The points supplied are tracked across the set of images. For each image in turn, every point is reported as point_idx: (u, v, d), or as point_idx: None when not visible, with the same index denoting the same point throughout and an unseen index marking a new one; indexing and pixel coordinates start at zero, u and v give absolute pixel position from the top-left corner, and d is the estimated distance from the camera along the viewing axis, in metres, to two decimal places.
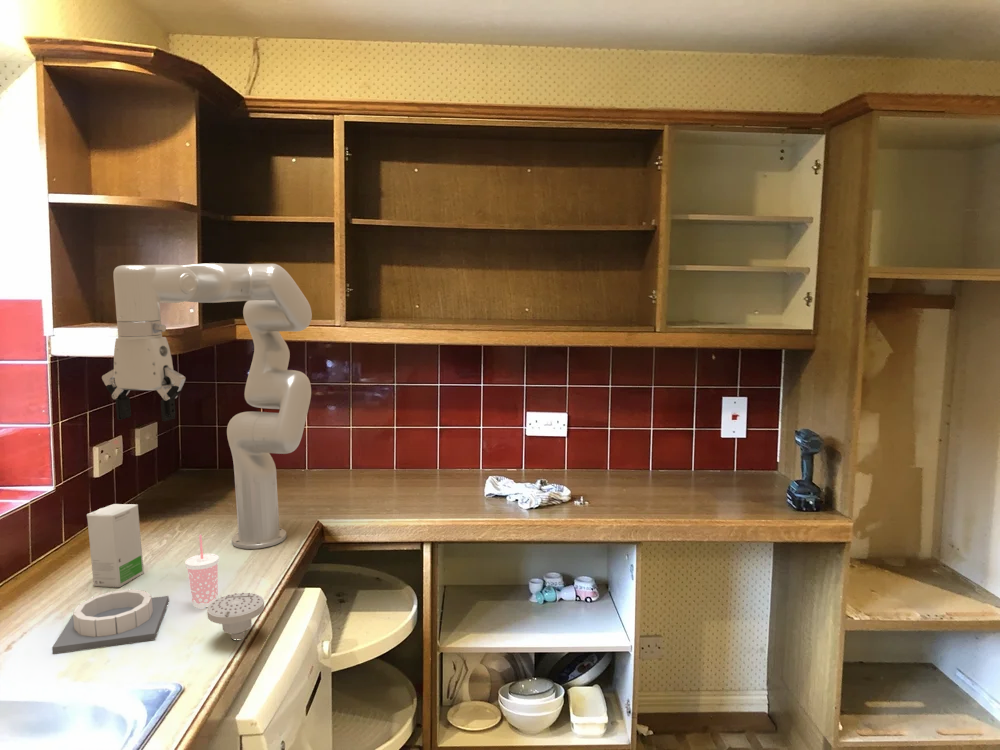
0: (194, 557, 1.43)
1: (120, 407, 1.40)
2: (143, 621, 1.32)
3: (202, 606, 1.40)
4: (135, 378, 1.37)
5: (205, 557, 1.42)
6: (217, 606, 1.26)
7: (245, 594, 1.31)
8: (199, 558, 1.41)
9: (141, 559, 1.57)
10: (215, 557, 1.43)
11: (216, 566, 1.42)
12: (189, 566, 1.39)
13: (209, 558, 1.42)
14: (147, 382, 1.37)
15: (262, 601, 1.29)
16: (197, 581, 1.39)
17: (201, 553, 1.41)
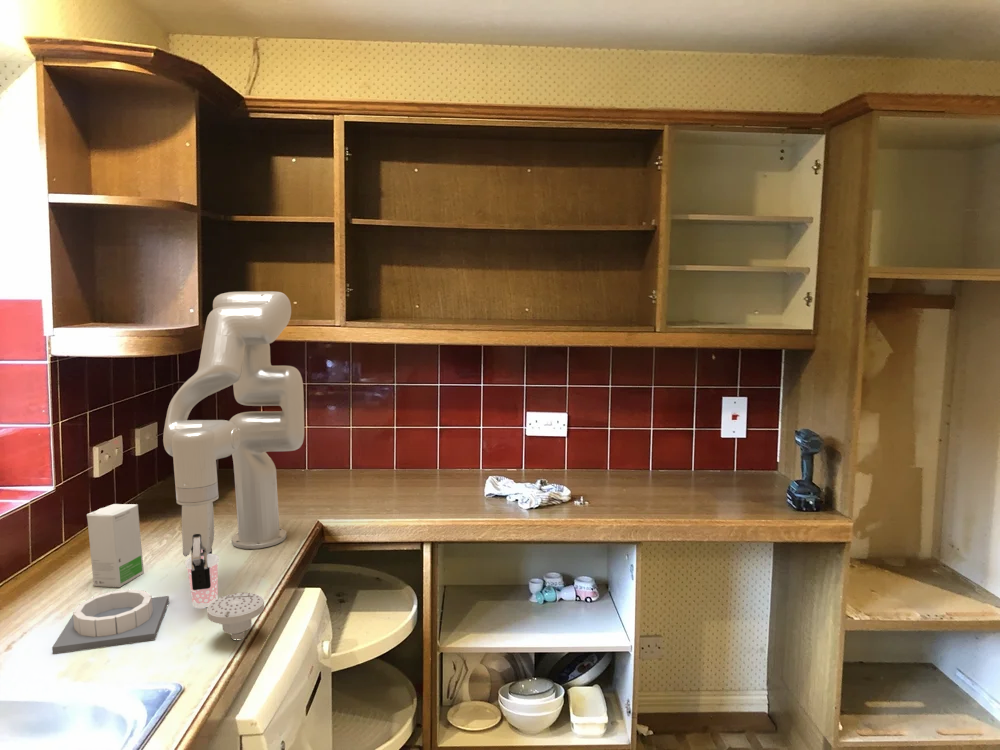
0: None
1: None
2: (143, 621, 1.32)
3: (202, 606, 1.40)
4: (213, 534, 1.41)
5: None
6: (217, 606, 1.26)
7: (245, 594, 1.31)
8: None
9: (141, 559, 1.57)
10: (215, 557, 1.43)
11: (216, 566, 1.42)
12: (189, 566, 1.39)
13: (209, 558, 1.42)
14: None
15: (262, 601, 1.29)
16: None
17: None
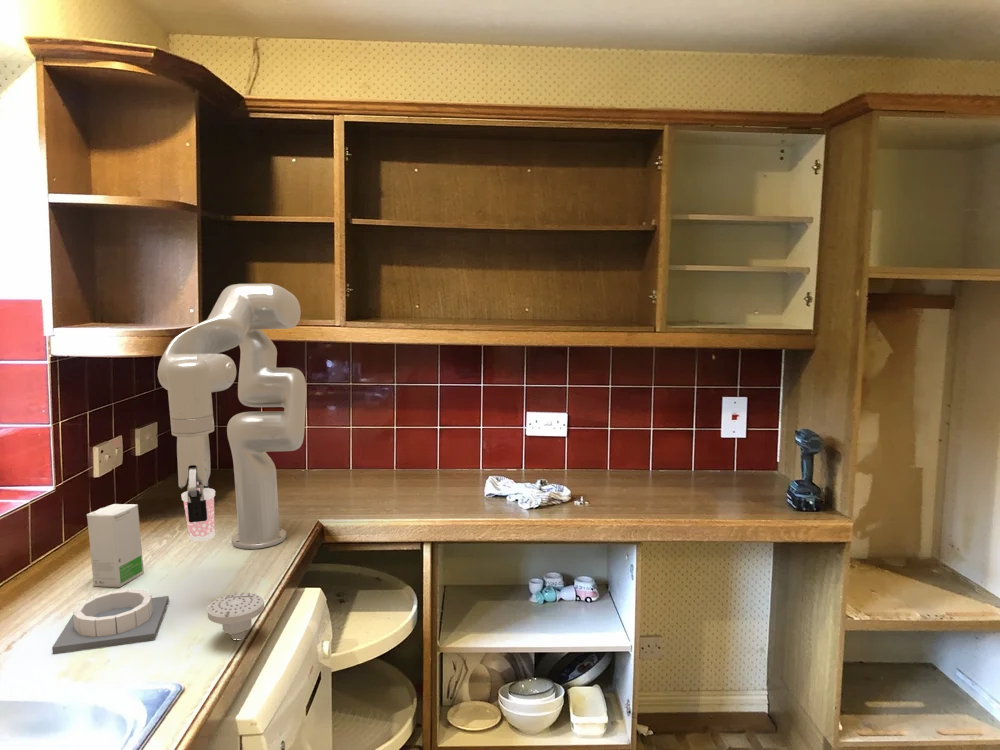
0: None
1: None
2: (143, 621, 1.32)
3: (199, 539, 1.39)
4: (209, 468, 1.40)
5: None
6: (217, 606, 1.26)
7: (245, 594, 1.31)
8: None
9: (141, 559, 1.57)
10: (211, 491, 1.41)
11: (213, 500, 1.40)
12: (185, 499, 1.38)
13: (205, 492, 1.41)
14: None
15: (262, 601, 1.29)
16: None
17: None
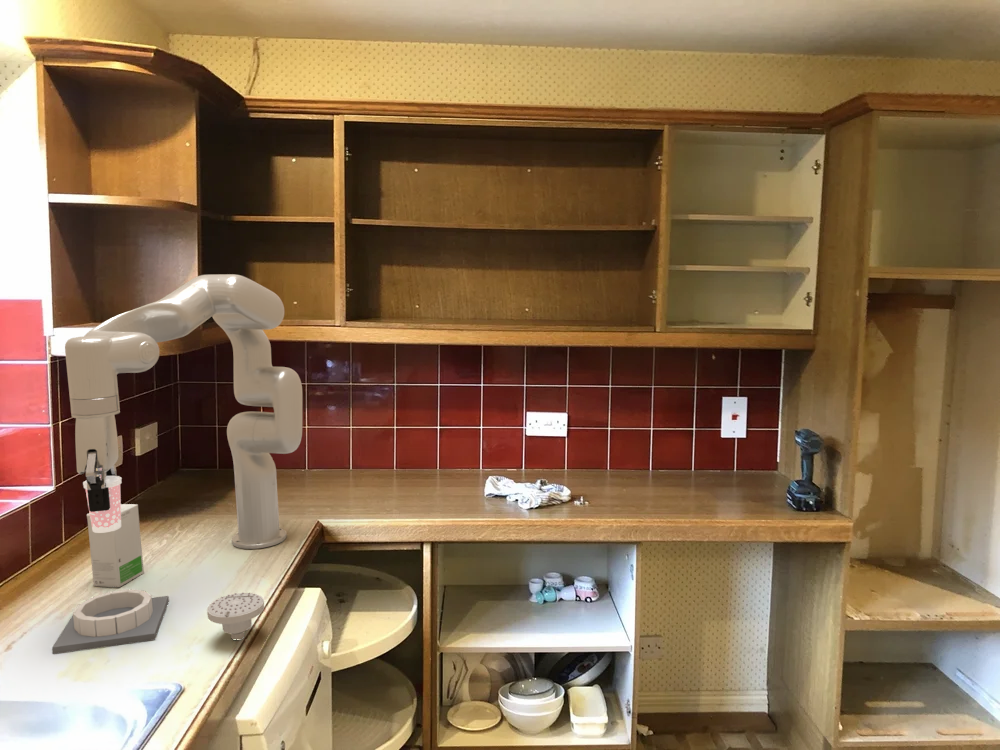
0: None
1: None
2: (143, 621, 1.32)
3: (102, 530, 1.29)
4: (114, 453, 1.30)
5: (106, 478, 1.30)
6: (217, 606, 1.26)
7: (245, 594, 1.31)
8: None
9: (141, 559, 1.57)
10: (117, 478, 1.31)
11: (118, 488, 1.30)
12: (86, 486, 1.27)
13: (111, 479, 1.31)
14: (117, 455, 1.33)
15: (262, 601, 1.29)
16: None
17: None
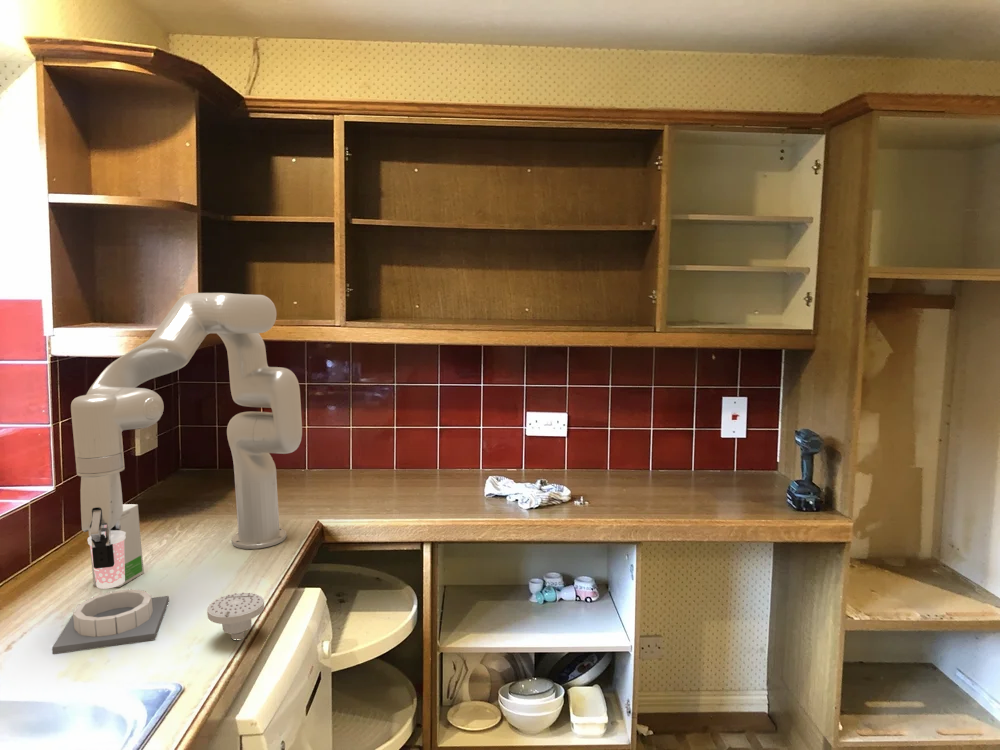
0: None
1: None
2: (143, 621, 1.32)
3: (106, 586, 1.30)
4: (118, 509, 1.31)
5: None
6: (217, 606, 1.26)
7: (245, 594, 1.31)
8: None
9: (141, 559, 1.57)
10: (121, 534, 1.33)
11: (122, 544, 1.32)
12: (91, 543, 1.29)
13: (115, 535, 1.32)
14: (121, 510, 1.34)
15: (262, 601, 1.29)
16: None
17: None
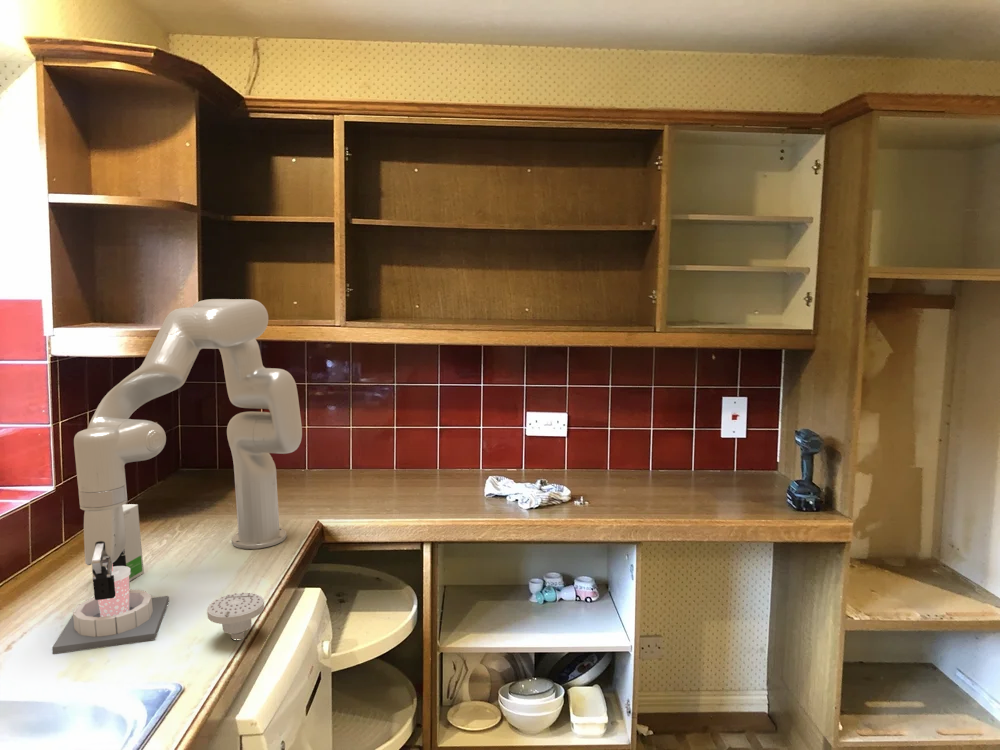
0: None
1: None
2: (143, 621, 1.32)
3: None
4: (121, 541, 1.32)
5: (115, 569, 1.33)
6: (217, 606, 1.26)
7: (245, 594, 1.31)
8: None
9: (141, 559, 1.57)
10: (126, 569, 1.34)
11: (127, 580, 1.33)
12: None
13: (120, 571, 1.34)
14: (124, 541, 1.35)
15: (262, 601, 1.29)
16: None
17: None
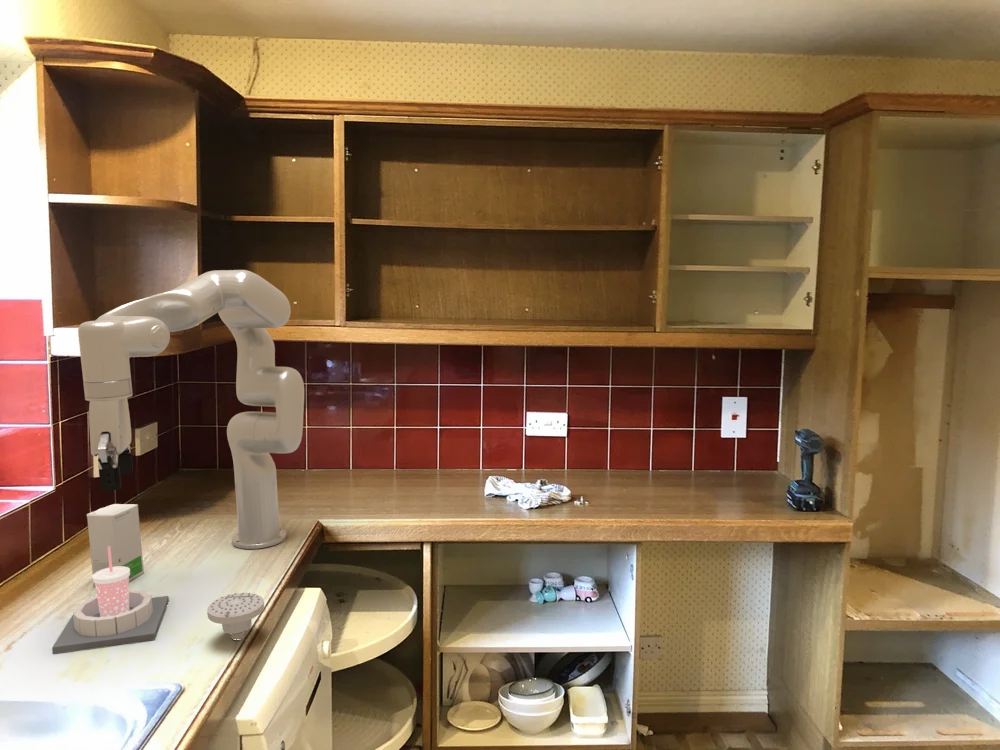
0: (104, 570, 1.34)
1: None
2: (143, 621, 1.32)
3: None
4: (127, 436, 1.32)
5: (115, 570, 1.33)
6: (217, 606, 1.26)
7: (245, 594, 1.31)
8: (108, 571, 1.33)
9: (141, 559, 1.57)
10: (126, 570, 1.34)
11: (126, 580, 1.33)
12: (95, 580, 1.30)
13: (119, 571, 1.33)
14: (129, 437, 1.34)
15: (262, 601, 1.29)
16: (104, 596, 1.30)
17: (110, 566, 1.32)
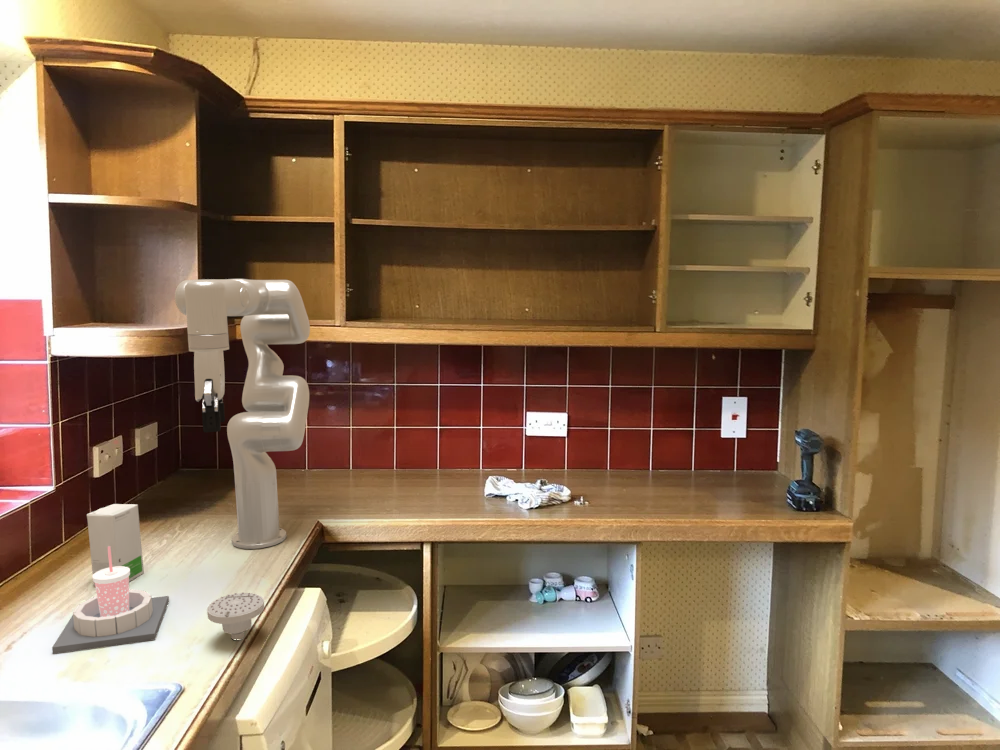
0: (104, 570, 1.34)
1: None
2: (143, 621, 1.32)
3: None
4: None
5: (115, 570, 1.33)
6: (217, 606, 1.26)
7: (245, 594, 1.31)
8: (108, 571, 1.33)
9: (141, 559, 1.57)
10: (126, 570, 1.34)
11: (126, 580, 1.33)
12: (95, 580, 1.30)
13: (119, 571, 1.33)
14: (224, 388, 1.49)
15: (262, 601, 1.29)
16: (104, 596, 1.30)
17: (110, 566, 1.32)
